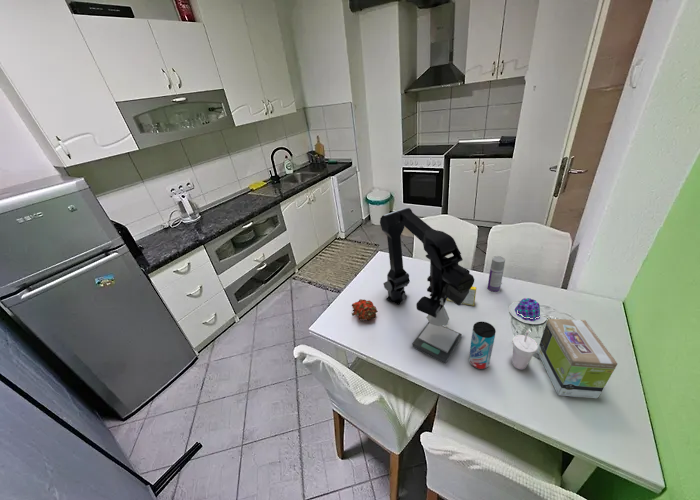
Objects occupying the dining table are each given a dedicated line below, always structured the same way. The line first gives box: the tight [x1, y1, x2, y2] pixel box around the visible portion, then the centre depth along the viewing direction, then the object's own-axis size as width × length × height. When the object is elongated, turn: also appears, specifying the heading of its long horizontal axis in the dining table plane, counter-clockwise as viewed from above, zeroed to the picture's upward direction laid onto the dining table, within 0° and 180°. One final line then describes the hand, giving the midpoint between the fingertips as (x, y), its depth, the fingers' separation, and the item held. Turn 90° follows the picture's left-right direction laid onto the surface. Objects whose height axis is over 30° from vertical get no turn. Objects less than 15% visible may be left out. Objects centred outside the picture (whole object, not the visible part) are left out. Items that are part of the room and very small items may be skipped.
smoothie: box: [511, 330, 539, 370], centre depth 82 cm, size 6×6×14 cm
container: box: [487, 255, 506, 293], centre depth 111 cm, size 5×5×15 cm
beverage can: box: [468, 321, 497, 370], centre depth 84 cm, size 6×6×15 cm
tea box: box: [536, 318, 618, 399], centre depth 77 cm, size 15×10×15 cm, turn 170°
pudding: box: [508, 297, 548, 325], centre depth 101 cm, size 12×12×5 cm
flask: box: [426, 298, 450, 326], centre depth 90 cm, size 7×7×10 cm
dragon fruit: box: [351, 298, 379, 322], centre depth 110 cm, size 8×8×12 cm
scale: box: [411, 321, 463, 365], centre depth 96 cm, size 12×13×2 cm
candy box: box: [446, 286, 477, 307], centre depth 111 cm, size 16×2×8 cm, turn 63°
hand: (438, 312), depth 91 cm, fingers closed on flask, 5 cm apart
